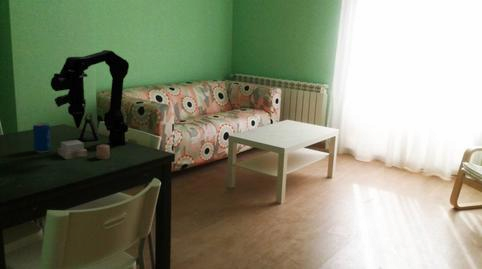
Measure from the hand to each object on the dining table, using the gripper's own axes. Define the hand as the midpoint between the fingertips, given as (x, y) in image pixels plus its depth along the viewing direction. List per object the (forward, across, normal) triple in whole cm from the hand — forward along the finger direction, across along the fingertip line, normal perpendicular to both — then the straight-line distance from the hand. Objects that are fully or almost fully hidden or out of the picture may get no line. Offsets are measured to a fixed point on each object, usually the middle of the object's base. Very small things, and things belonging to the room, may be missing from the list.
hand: (78, 125), depth 186 cm
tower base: (+14, 0, -3) cm, 14 cm away
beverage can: (+13, -8, -15) cm, 22 cm away
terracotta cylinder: (+13, +5, +10) cm, 17 cm away
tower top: (+10, -1, -3) cm, 11 cm away
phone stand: (+14, -27, +3) cm, 30 cm away
